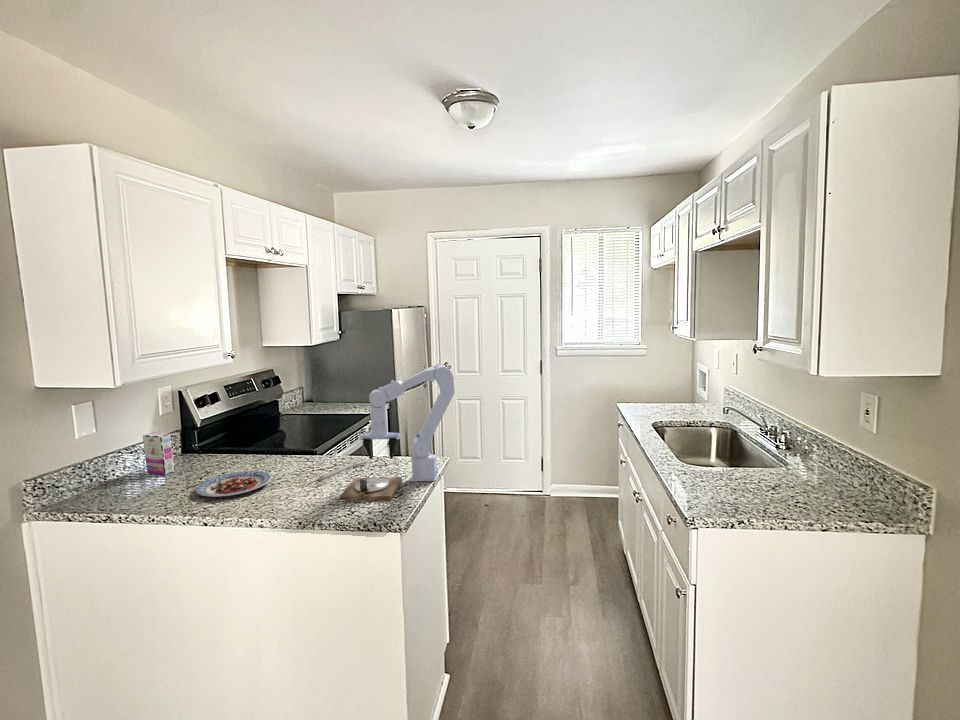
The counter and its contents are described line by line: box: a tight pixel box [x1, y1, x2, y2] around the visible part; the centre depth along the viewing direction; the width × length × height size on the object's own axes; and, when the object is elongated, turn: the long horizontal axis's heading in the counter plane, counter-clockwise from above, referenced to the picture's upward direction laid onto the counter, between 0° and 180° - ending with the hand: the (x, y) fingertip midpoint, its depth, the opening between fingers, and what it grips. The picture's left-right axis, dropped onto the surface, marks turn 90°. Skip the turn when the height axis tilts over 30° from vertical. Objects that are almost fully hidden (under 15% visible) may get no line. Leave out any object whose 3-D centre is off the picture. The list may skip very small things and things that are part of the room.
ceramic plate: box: [195, 470, 272, 498], centre depth 197 cm, size 26×26×3 cm
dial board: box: [339, 476, 403, 501], centre depth 188 cm, size 18×18×2 cm
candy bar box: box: [142, 432, 176, 476], centre depth 217 cm, size 11×5×16 cm, turn 68°
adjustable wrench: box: [317, 458, 369, 481], centre depth 211 cm, size 25×6×2 cm, turn 143°
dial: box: [355, 477, 389, 495], centre depth 186 cm, size 14×12×5 cm
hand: (381, 458), depth 194 cm, fingers open, 7 cm apart
